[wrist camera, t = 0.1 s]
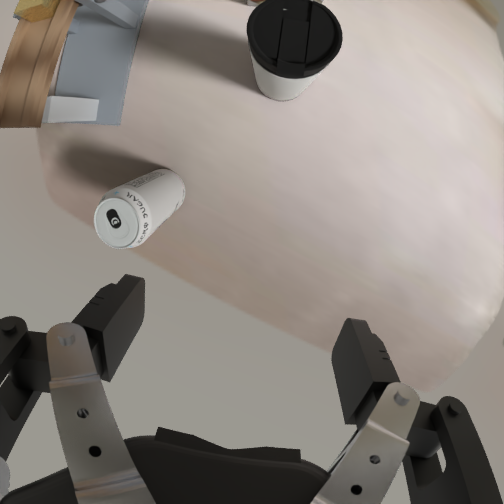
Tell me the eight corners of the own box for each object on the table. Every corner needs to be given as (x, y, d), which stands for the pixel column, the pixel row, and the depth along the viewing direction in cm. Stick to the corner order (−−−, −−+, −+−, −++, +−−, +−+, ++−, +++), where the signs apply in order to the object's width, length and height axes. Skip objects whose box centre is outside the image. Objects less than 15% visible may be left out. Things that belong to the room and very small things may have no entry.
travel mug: (252, 100, 34) (238, 69, 16) (259, 52, 32) (252, -18, 13) (302, 107, 35) (340, 85, 16) (309, 59, 32) (349, -1, 14)
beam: (87, -69, 16) (75, -84, 12) (132, -80, 16) (121, -98, 12) (6, 128, 23) (-20, 126, 19) (46, 128, 24) (19, 124, 19)
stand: (98, -45, 24) (54, -79, 11) (172, -56, 24) (140, -104, 12) (52, 122, 36) (-13, 129, 23) (122, 125, 36) (62, 129, 23)
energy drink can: (155, 217, 41) (106, 262, 27) (138, 178, 39) (79, 207, 25) (194, 202, 40) (156, 242, 26) (176, 160, 38) (128, 180, 24)
